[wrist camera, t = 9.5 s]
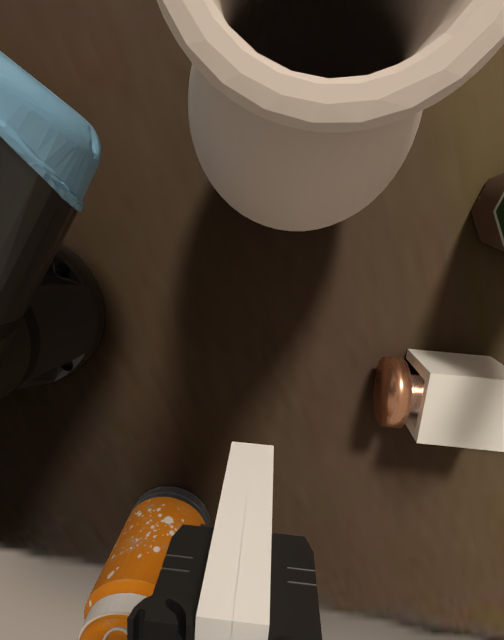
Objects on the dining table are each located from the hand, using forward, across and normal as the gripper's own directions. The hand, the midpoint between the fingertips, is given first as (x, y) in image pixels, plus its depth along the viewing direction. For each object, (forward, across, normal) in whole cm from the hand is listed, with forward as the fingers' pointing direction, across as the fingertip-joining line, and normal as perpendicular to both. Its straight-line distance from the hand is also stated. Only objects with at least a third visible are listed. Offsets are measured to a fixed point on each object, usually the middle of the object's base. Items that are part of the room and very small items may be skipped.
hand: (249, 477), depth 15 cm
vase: (+27, +1, +15) cm, 31 cm away
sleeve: (+26, +18, -6) cm, 32 cm away
